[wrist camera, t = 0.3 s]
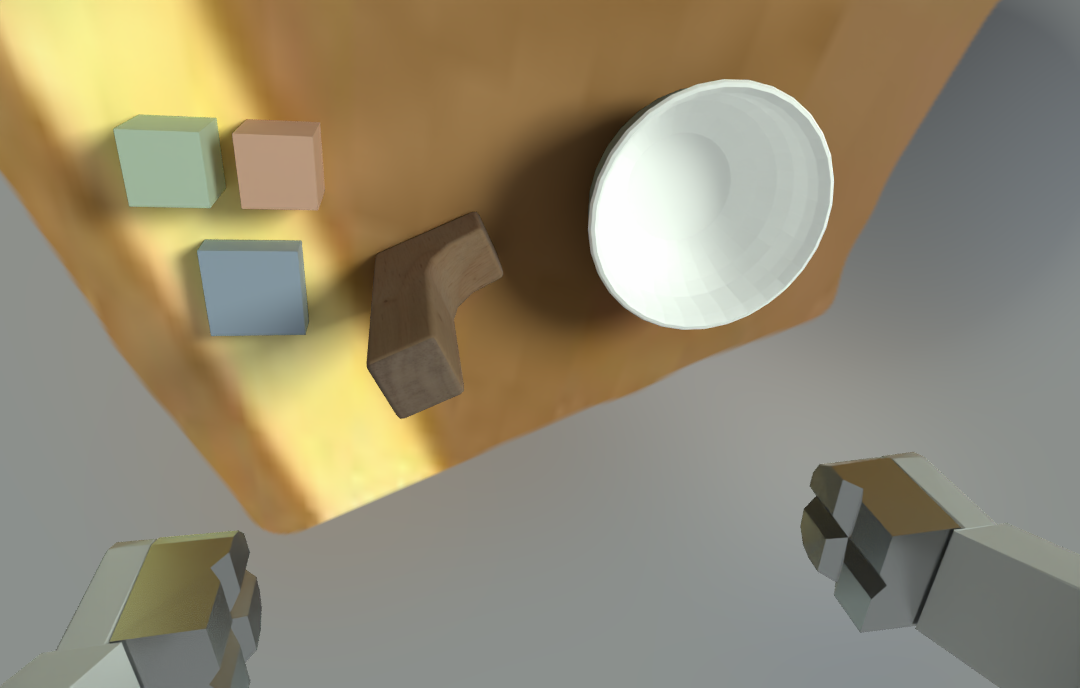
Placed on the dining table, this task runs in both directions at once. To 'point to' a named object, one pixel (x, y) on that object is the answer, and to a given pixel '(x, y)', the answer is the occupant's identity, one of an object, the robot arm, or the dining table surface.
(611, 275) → the bowl
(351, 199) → the dining table surface
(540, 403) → the dining table surface
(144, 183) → the sage green cube
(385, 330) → the wooden block
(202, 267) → the slate blue block
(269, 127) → the pinkish brown cube
